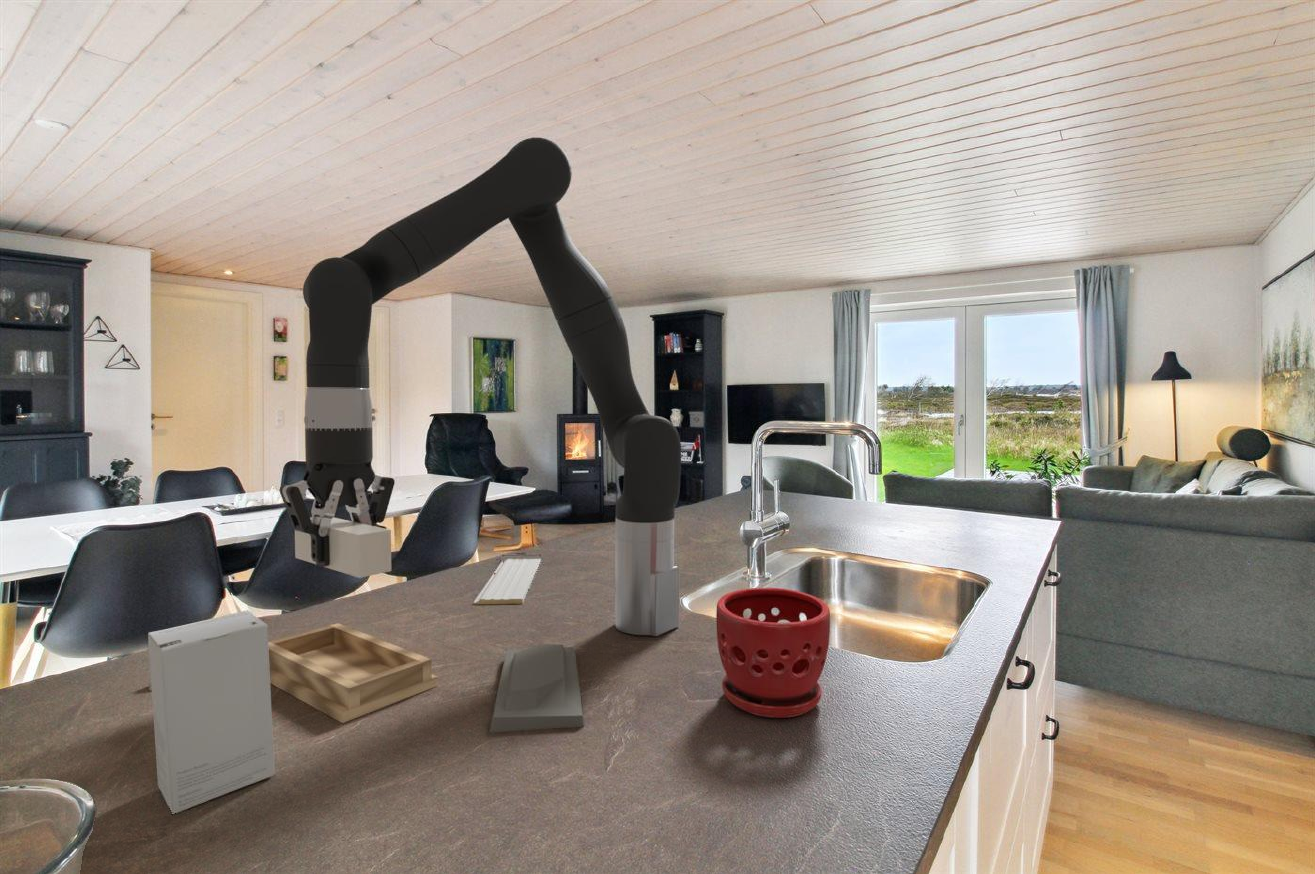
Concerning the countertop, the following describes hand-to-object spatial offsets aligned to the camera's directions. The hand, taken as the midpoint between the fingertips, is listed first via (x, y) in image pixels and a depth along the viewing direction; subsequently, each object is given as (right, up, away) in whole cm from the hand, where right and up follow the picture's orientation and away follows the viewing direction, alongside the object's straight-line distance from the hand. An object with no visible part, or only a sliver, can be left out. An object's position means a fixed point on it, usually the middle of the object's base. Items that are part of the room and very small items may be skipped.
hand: (341, 561), depth 83 cm
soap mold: (+25, -16, -2) cm, 30 cm away
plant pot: (+53, -16, -5) cm, 56 cm away
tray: (0, -15, +1) cm, 15 cm away
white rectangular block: (0, 0, 0) cm, 0 cm away
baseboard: (+10, -14, +48) cm, 50 cm away
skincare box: (-1, -16, -22) cm, 28 cm away
